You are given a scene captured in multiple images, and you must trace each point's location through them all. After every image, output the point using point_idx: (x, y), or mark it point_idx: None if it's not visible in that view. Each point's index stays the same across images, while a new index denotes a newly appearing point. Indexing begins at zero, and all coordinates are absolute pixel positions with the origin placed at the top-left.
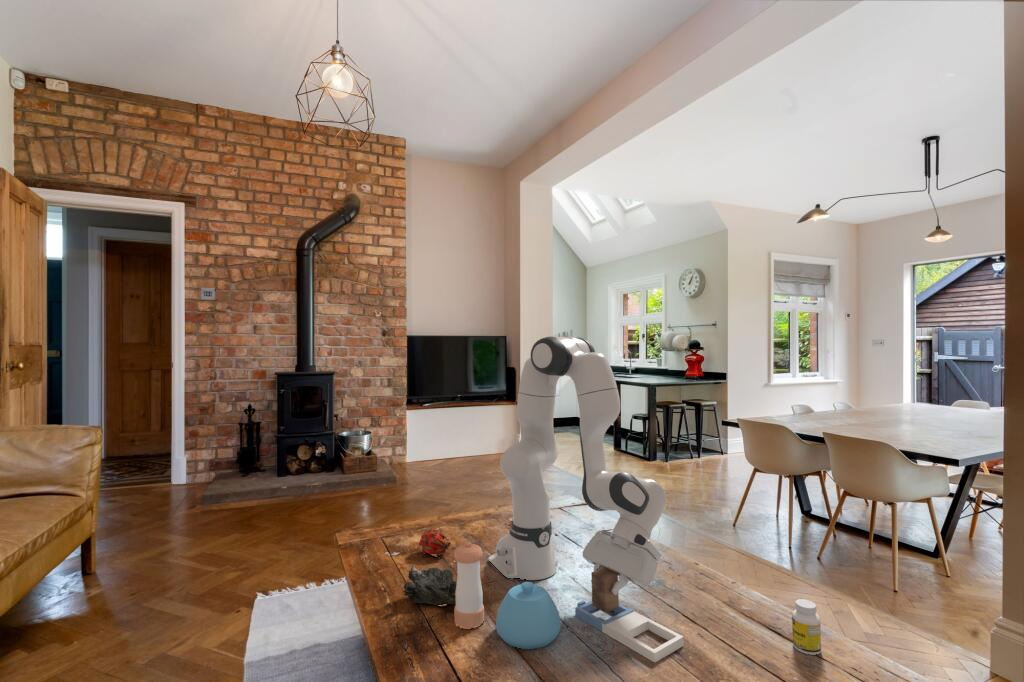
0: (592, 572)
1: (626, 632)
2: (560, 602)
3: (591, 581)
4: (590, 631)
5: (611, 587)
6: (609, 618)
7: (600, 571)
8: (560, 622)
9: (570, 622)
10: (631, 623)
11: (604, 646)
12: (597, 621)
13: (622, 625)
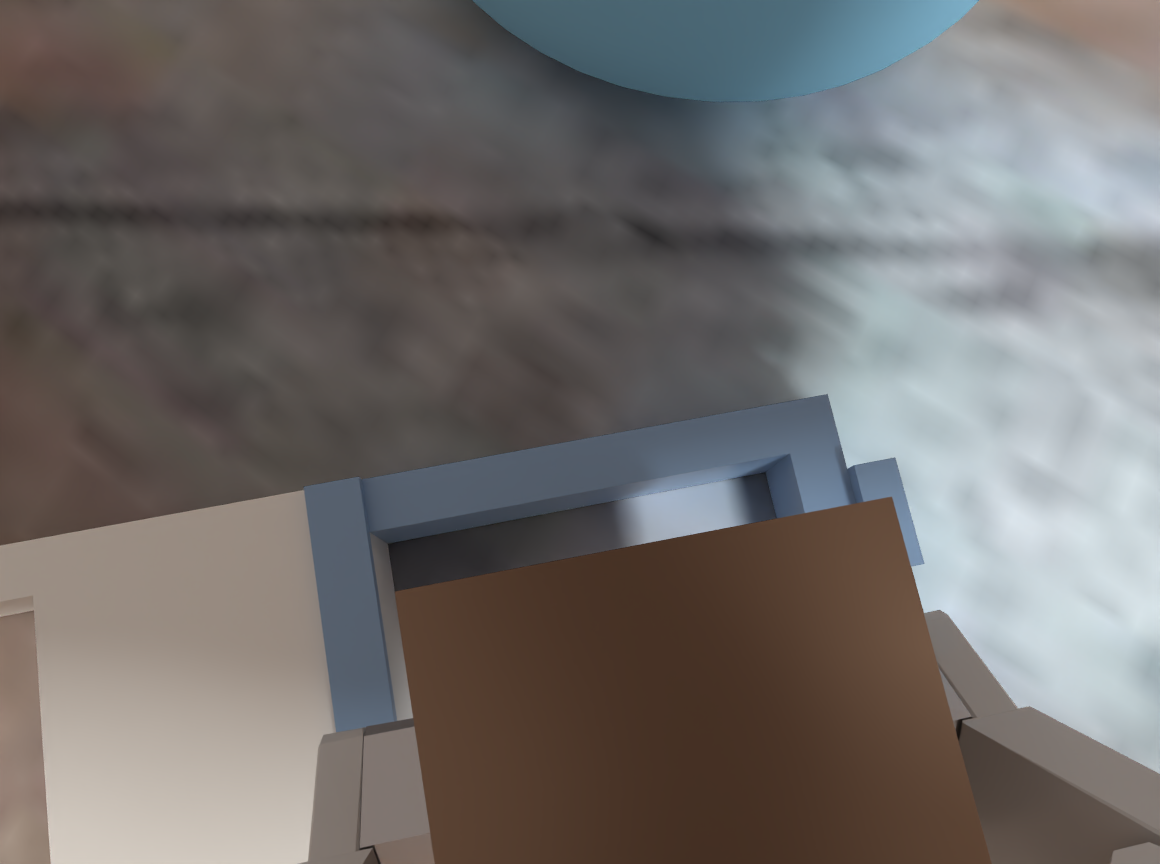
0: (882, 523)
1: (39, 628)
2: (1142, 431)
3: (927, 614)
4: (451, 389)
5: (403, 766)
6: (375, 611)
7: (841, 760)
8: (539, 14)
9: (704, 301)
10: (150, 823)
11: (147, 356)
12: (443, 468)
13: (179, 678)
